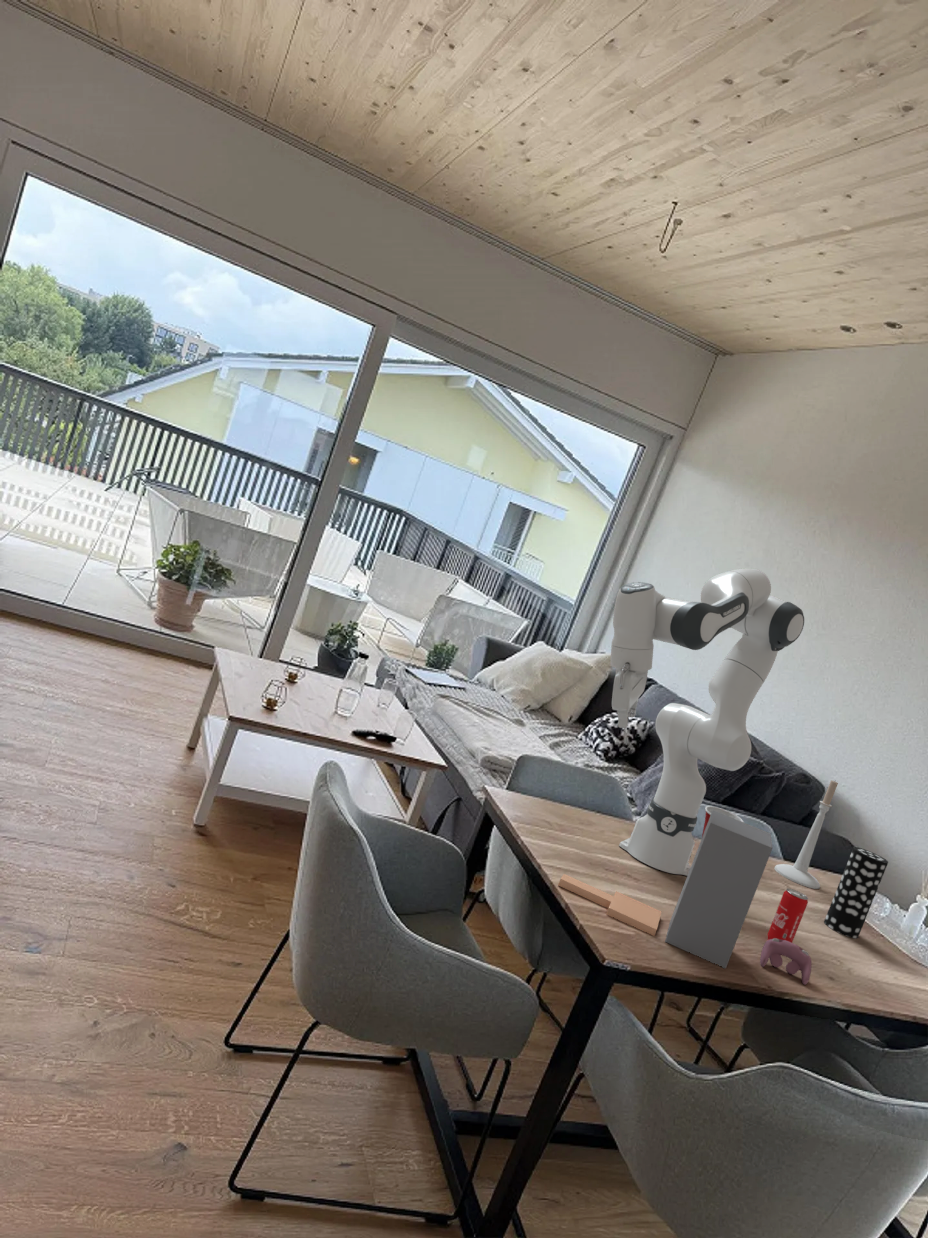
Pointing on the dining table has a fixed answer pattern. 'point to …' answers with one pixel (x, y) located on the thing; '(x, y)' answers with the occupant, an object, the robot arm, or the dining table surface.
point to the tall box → (719, 888)
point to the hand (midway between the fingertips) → (626, 721)
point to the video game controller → (790, 950)
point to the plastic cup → (725, 812)
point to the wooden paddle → (617, 905)
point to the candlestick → (808, 847)
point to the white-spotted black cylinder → (855, 892)
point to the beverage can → (788, 915)
